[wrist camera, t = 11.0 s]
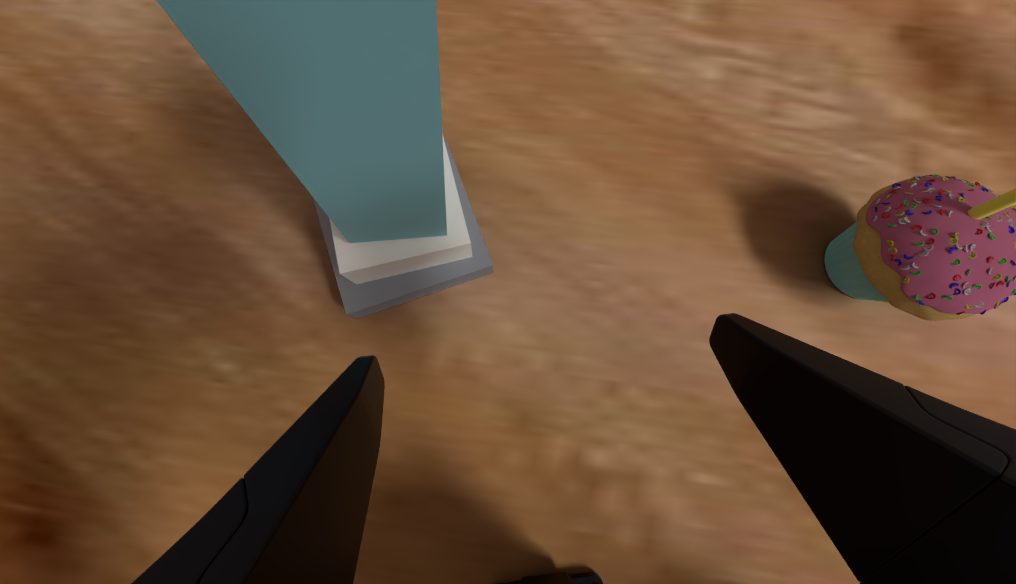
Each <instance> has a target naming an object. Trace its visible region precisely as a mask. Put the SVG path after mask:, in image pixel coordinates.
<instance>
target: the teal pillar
mask: <svg viewBox="0 0 1016 584" xmlns="http://www.w3.org/2000/svg"><path fill="white" fill-rule="evenodd" d="M157 1H158V3H159V4H160V5H161V7H162V8H163V9H164V10H165V12H166V13H167V14H168V15H169V17H170V18H171V19H172V20H173V22H174V23H175V24H176V25H177V27H178V28H179V29H180V30H181V32H182V33H183V34H184V35H185V37H186V38H187V39H188V41H189V42H190V43H191V44H192V46H193V47H194V48H195V49H196V51H197V52H198V53H199V54H200V56H201V57H202V58H203V59H204V61H205V62H206V63H207V64H208V66H209V67H210V68H211V69H212V71H213V72H214V73H215V75H216V76H217V77H218V78H219V80H220V81H221V82H222V83H223V85H224V86H225V87H226V88H227V90H228V91H229V92H230V93H231V95H232V96H233V97H234V98H235V100H236V101H237V102H238V103H239V105H240V106H241V107H242V108H243V110H244V111H245V112H246V114H247V115H248V116H249V117H250V119H251V120H252V121H253V122H254V124H255V125H256V126H257V127H258V129H259V130H260V131H261V132H262V134H263V135H264V136H265V137H266V139H267V140H268V141H269V142H270V144H271V145H272V146H273V148H274V149H275V150H276V151H277V153H278V154H279V155H280V156H281V158H282V159H283V160H284V161H285V163H286V164H287V165H288V166H289V168H290V169H291V170H292V171H293V173H294V174H295V175H296V176H297V178H298V179H299V180H300V182H301V183H302V184H303V185H304V187H305V188H306V189H307V190H308V192H309V193H310V194H311V195H312V197H313V198H314V199H315V200H316V202H317V203H318V204H319V205H320V207H321V208H322V209H323V210H324V212H325V213H326V214H327V215H328V217H329V218H330V219H331V221H332V222H333V223H334V224H335V226H336V227H337V228H338V229H339V231H340V232H341V233H342V234H343V236H344V237H345V238H346V239H347V241H348V242H349V243H359V242H371V241H384V240H396V239H409V238H421V237H434V236H447V222H446V201H445V180H444V159H443V138H442V117H441V95H440V74H439V53H438V32H437V11H436V0H157Z"/></svg>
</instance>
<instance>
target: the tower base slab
mask: <svg viewBox="0 0 1016 584" xmlns="http://www.w3.org/2000/svg"><path fill="white" fill-rule="evenodd" d="M444 142H445V145H446V149H447V153H448V157H449V161H450V165H451V169H452V172H453V176H454V180H455V184H456V188H457V192H458V196H459V199H460V203H461V207H462V211H463V215H464V219H465V223H466V226H467V230H468V234H469V238H470V242H471V248H472V256H473V257H470V258H466V259H462V260H458V261H453V262H449V263H445V264H441V265H437V266H432V267H428V268H424V269H420V270H415V271H411V272H407V273H403V274H399V275H394V276H390V277H386V278H382V279H378V280H373V281H369V282H365V283H361V284H355V283H353V282H352V281H350V280H349V279H347V278H346V277H344V276H342V275H341V274H340V273H339V268H338V262H337V257H336V251H335V246H334V241H333V235H332V230H331V224H330V219H329V217H328V215H327V214H326V213H325V212H324V210H323V209H322V208H321V207H320V205H319V204H318V203H317V202H316V200H315V199H314V198H313V201H314V204H315V208H316V211H317V215H318V218H319V222H320V225H321V229H322V232H323V236H324V239H325V243H326V246H327V250H328V253H329V256H330V260H331V263H332V267H333V270H334V274H335V277H336V281H337V284H338V288H339V291H340V295H341V298H342V302H343V305H344V309H345V312H346V315H349V316H351V317H354V318H357V319H358V318H361V317H364V316H367V315H370V314H373V313H376V312H379V311H382V310H385V309H388V308H391V307H394V306H397V305H400V304H402V303H405V302H408V301H411V300H414V299H417V298H420V297H423V296H426V295H429V294H432V293H435V292H438V291H441V290H444V289H446V288H449V287H452V286H455V285H458V284H461V283H464V282H467V281H470V280H473V279H476V278H479V277H482V276H485V275H488V274H490V273H492V272H493V264H492V261H491V259H490V256H489V253H488V250H487V248H486V245H485V242H484V240H483V237H482V234H481V232H480V229H479V226H478V223H477V221H476V218H475V215H474V213H473V210H472V207H471V205H470V202H469V199H468V197H467V194H466V191H465V188H464V186H463V183H462V180H461V178H460V175H459V172H458V170H457V167H456V164H455V161H454V159H453V156H452V153H451V151H450V148H449V145H448V143H447V140H446V139H445V140H444Z"/></svg>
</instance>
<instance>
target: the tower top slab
mask: <svg viewBox="0 0 1016 584" xmlns="http://www.w3.org/2000/svg"><path fill="white" fill-rule="evenodd" d="M442 138H443V134H442ZM443 159H444V180H445V201H446V222H447V236H434V237H421V238H409V239H396V240H384V241H371V242H359V243H349V242H348V241H347V239H346V238H345V237H344V236H343V234H342V233H341V232H340V231H339V229H338V228H337V227H336V226H335V224H334V223H333V222H332V221H331V219H330V218H329V219H330V224H331V230H332V235H333V241H334V246H335V251H336V257H337V262H338V268H339V273H340V274H341V275H342V276H344V277H346V278H347V279H349V280H350V281H352V282H353V283H355V284H361V283H365V282H369V281H373V280H378V279H382V278H386V277H390V276H394V275H399V274H403V273H407V272H411V271H415V270H420V269H424V268H428V267H432V266H437V265H441V264H445V263H449V262H453V261H458V260H462V259H466V258H470V257H473V256H472V248H471V242H470V238H469V234H468V230H467V226H466V223H465V219H464V215H463V211H462V207H461V203H460V199H459V196H458V192H457V188H456V184H455V180H454V176H453V172H452V169H451V165H450V161H449V157H448V153H447V149H446V145H445V142H444V138H443Z"/></svg>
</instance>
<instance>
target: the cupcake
mask: <svg viewBox="0 0 1016 584" xmlns="http://www.w3.org/2000/svg"><path fill="white" fill-rule="evenodd" d="M1015 204H1016V189H1014V190H1012V191H1009V192H1007V193H1005V194H1003V195H998V194H994V192H992V191H990V189H988V190H987V188H986V187H984V186H980V184H979V183H978V182H975V184H972V183H969V182H968V181H967V180H964V179H962V180H960V179H958V178H956V177H955V176H954V177H952V176H951V177H947V176H946V177H941V176H939V175H934V176H932V175H925V176H914V177H913V178H911V179H907V180H903V181H900V182H897V183H894V184H892V185H889V186H887V187H885V188H882V189H880V190H879V191H877V192H875V193H874V194H873V195H872V196H871V198H870V200H869V201H868V202H867V203H866V204H865V205H864V206H863V207H862V208H861V209H860V210H859V212H858V214H857V222H855V223H854V224H853V225H852V226H851V227H849V228H848V229H847V230H845V231H844V232H843V233H841V234H840V235H839V236H837V237H836V238H835V239H833V240H832V241H831V242H830V244H829V245H828V247H827V249H826V252H825V258H824V262H825V268H826V272H827V274H828V276H829V278H830V280H831V281H832V283H833V284H834V285H835V286H836V287H837V288H838V289H839V290H840V291H842V292H843V293H845V294H846V295H848V296H850V297H853V298H856V299H863V300H875V301H883V302H889V303H890V304H891V305H892V306H894V307H896V308H898V309H900V310H903V311H905V312H907V313H910V314H912V315H914V316H917V317H919V318H922V319H924V320H930V321H939V320H951V319H962V318H966V317H970V316H973V315H976V314H978V313H980V314H981V315H982V314H984V313H985V312H986V311H988V310H990V309H992V308H994V309H996V308H997V307H998V306H999V305H1000V304H1001V303H1004V302H1006V301H1007V300H1008V299H1009V298H1008V297H1009V296H1010V295H1016V293H1015V292H1016V209H1014V208H1011V207H1010V206H1013V205H1015ZM1014 210H1015V211H1014ZM1005 299H1006V300H1005Z"/></svg>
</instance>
